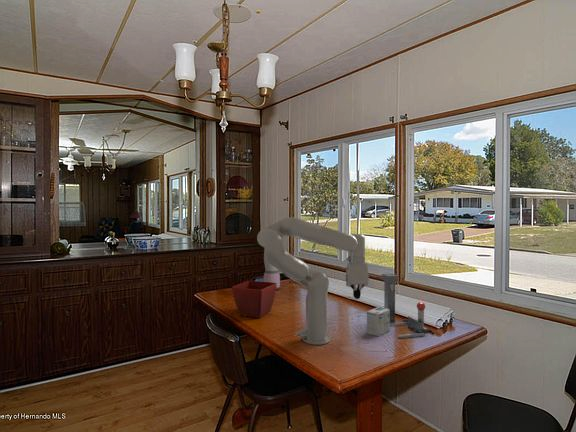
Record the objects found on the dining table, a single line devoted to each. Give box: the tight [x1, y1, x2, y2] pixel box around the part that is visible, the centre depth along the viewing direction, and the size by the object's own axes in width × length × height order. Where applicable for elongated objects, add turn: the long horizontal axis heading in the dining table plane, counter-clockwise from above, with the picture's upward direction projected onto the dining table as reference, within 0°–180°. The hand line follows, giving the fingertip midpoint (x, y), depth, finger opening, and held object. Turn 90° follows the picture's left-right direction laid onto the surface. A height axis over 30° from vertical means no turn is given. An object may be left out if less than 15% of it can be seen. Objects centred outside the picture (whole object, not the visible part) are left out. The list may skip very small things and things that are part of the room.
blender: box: [263, 247, 281, 290], centre depth 261 cm, size 16×12×32 cm
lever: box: [416, 301, 427, 330], centre depth 172 cm, size 4×5×13 cm
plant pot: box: [231, 280, 277, 319], centre depth 198 cm, size 19×19×17 cm
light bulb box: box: [366, 306, 391, 337], centre depth 169 cm, size 11×7×11 cm, turn 134°
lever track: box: [402, 318, 435, 336], centre depth 175 cm, size 6×20×1 cm, turn 11°
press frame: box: [381, 273, 425, 339], centre depth 174 cm, size 14×24×25 cm, turn 11°
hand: (356, 298), depth 167 cm, fingers closed
